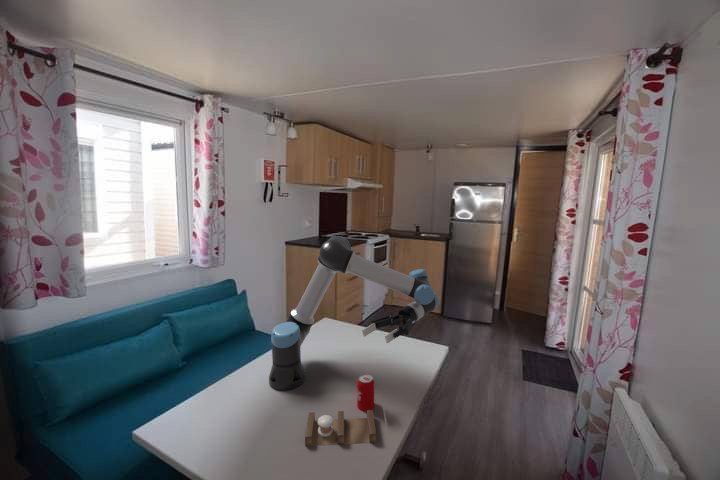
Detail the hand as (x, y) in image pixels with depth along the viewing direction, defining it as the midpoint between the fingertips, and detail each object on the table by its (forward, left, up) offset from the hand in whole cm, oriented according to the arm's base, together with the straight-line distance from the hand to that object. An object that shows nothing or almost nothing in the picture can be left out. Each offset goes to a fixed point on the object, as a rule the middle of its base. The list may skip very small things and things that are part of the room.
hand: (374, 336), depth 118 cm
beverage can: (-4, -7, -25) cm, 26 cm away
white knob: (-18, -19, -24) cm, 35 cm away
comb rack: (-13, -19, -25) cm, 33 cm away
